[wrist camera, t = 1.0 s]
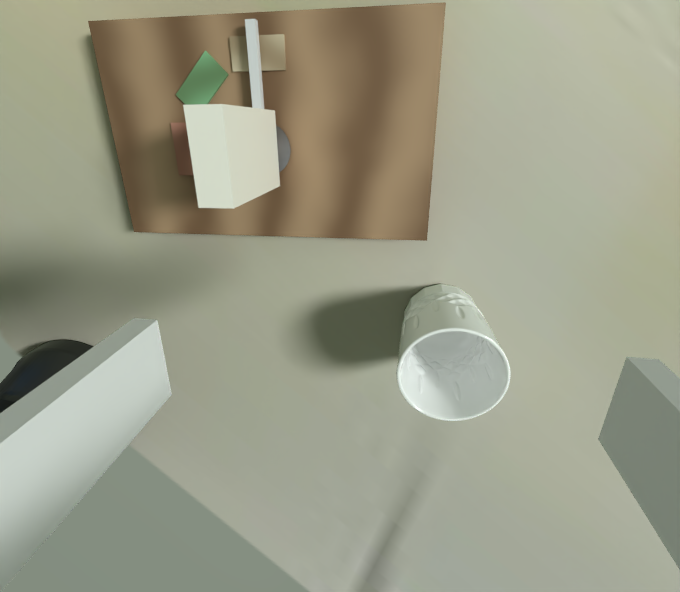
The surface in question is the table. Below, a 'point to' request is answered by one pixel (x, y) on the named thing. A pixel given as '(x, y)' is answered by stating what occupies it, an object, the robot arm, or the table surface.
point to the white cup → (449, 356)
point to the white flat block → (234, 143)
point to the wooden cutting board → (282, 116)
